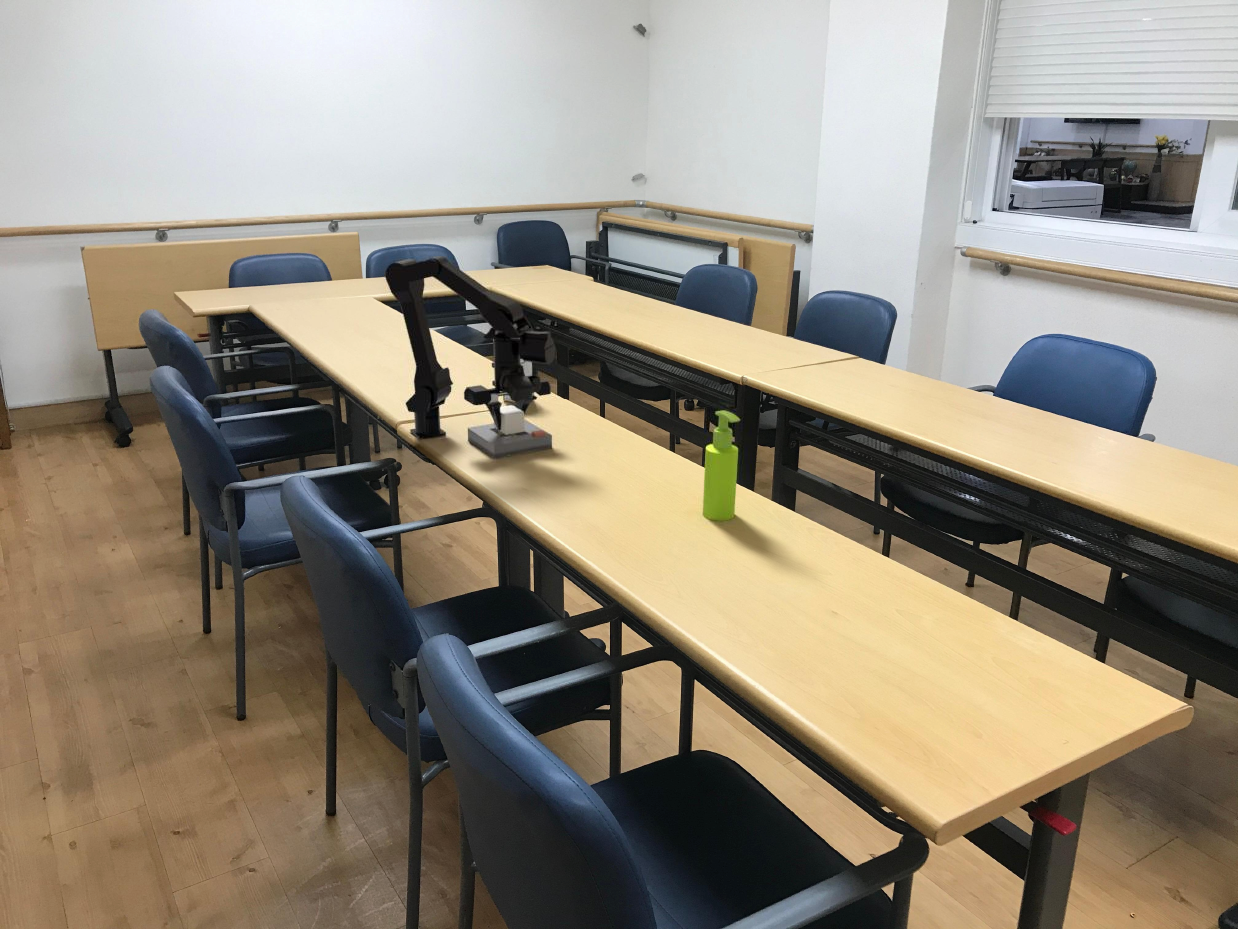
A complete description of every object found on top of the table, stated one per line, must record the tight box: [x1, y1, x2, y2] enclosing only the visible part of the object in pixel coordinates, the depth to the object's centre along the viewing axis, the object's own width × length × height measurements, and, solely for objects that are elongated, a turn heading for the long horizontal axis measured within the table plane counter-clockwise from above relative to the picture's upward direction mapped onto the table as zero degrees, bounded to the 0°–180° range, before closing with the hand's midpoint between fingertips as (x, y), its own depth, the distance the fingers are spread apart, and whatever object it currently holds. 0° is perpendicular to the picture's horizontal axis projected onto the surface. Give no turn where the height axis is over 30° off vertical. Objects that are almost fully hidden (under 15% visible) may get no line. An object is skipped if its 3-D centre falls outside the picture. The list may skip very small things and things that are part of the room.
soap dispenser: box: [702, 410, 741, 521], centre depth 174 cm, size 6×7×20 cm
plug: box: [493, 405, 525, 437], centre depth 212 cm, size 6×5×6 cm
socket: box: [467, 418, 553, 459], centre depth 213 cm, size 14×14×4 cm
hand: (509, 427), depth 212 cm, fingers closed on plug, 4 cm apart
